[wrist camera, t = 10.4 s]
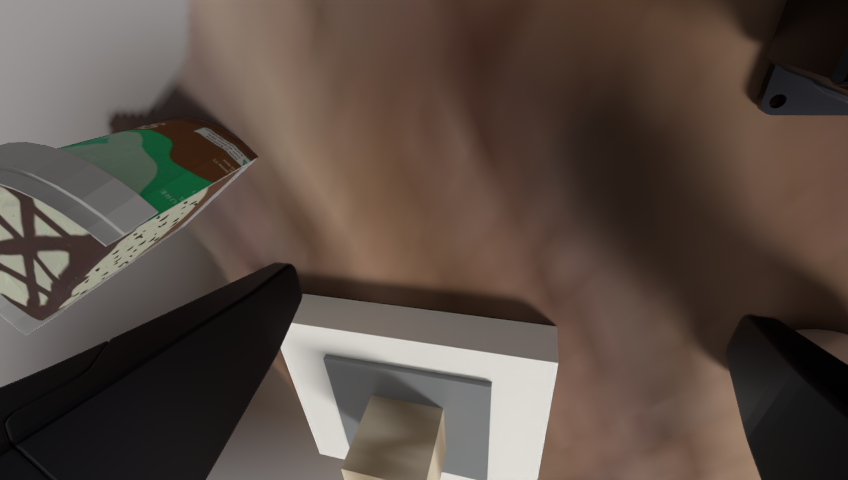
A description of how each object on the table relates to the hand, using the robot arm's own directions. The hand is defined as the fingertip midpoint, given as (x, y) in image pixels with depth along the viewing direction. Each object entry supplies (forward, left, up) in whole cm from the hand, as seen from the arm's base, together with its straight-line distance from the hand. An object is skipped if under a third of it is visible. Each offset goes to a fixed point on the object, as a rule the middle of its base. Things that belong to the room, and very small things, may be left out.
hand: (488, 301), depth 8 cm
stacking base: (+6, +20, -12) cm, 24 cm away
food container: (+20, +2, -12) cm, 24 cm away
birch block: (+6, +20, -9) cm, 23 cm away
